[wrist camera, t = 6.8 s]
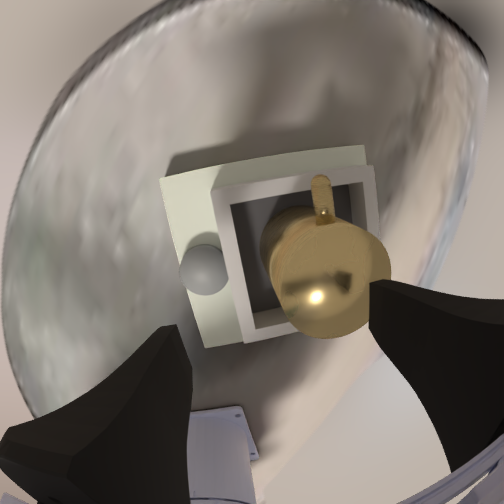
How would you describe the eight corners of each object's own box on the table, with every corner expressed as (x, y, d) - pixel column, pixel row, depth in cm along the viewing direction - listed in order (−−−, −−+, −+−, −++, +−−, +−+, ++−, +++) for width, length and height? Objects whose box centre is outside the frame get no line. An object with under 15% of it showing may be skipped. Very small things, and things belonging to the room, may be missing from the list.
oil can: (340, 274, 17) (389, 320, 11) (266, 292, 17) (288, 350, 11) (328, 166, 15) (385, 167, 9) (245, 179, 15) (261, 185, 9)
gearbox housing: (365, 298, 20) (388, 320, 16) (205, 336, 19) (204, 367, 16) (353, 145, 17) (380, 142, 13) (164, 177, 16) (150, 180, 13)
